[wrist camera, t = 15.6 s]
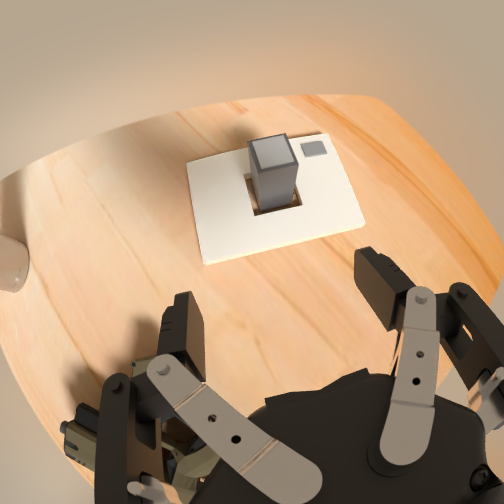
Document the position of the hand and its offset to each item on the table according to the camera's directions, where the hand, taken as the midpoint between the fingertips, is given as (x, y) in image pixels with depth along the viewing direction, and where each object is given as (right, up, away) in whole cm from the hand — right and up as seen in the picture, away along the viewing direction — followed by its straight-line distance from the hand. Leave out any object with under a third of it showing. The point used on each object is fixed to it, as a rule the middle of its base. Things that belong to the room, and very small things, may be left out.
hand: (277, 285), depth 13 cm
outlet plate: (+1, +9, +21) cm, 23 cm away
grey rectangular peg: (+1, +9, +21) cm, 23 cm away
